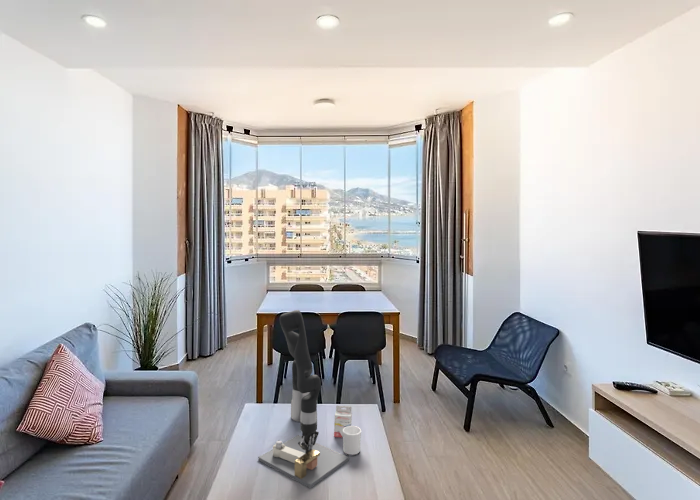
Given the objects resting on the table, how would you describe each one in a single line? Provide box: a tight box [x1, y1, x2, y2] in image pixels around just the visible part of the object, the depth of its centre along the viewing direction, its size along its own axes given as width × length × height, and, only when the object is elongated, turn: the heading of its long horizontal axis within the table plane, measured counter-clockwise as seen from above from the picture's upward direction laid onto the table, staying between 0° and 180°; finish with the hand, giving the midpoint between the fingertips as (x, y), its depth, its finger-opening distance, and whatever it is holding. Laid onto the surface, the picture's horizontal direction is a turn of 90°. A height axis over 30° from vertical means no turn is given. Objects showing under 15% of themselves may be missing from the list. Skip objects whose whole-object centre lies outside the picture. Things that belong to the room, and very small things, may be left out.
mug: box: [342, 425, 362, 456], centre depth 197 cm, size 11×9×10 cm
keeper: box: [295, 449, 320, 479], centre depth 177 cm, size 4×12×8 cm, turn 143°
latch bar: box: [272, 440, 317, 470], centre depth 184 cm, size 23×6×6 cm, turn 60°
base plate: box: [258, 434, 350, 489], centre depth 188 cm, size 32×26×2 cm
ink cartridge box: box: [333, 405, 353, 439], centre depth 210 cm, size 9×5×15 cm, turn 84°
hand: (308, 456), depth 185 cm, fingers closed
